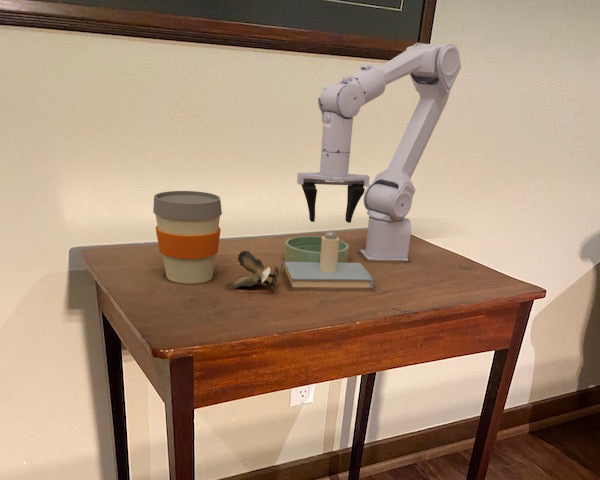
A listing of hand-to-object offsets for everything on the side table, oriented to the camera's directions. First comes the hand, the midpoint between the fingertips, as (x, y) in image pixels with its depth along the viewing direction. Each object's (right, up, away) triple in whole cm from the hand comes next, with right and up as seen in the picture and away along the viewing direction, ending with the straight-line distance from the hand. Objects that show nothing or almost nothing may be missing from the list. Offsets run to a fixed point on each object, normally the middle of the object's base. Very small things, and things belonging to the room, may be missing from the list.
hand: (330, 221), depth 128 cm
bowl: (-3, -7, +6) cm, 10 cm away
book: (-1, -13, -5) cm, 14 cm away
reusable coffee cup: (-28, -13, -8) cm, 32 cm away
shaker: (-1, -11, -6) cm, 13 cm away
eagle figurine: (-15, -16, -12) cm, 25 cm away
